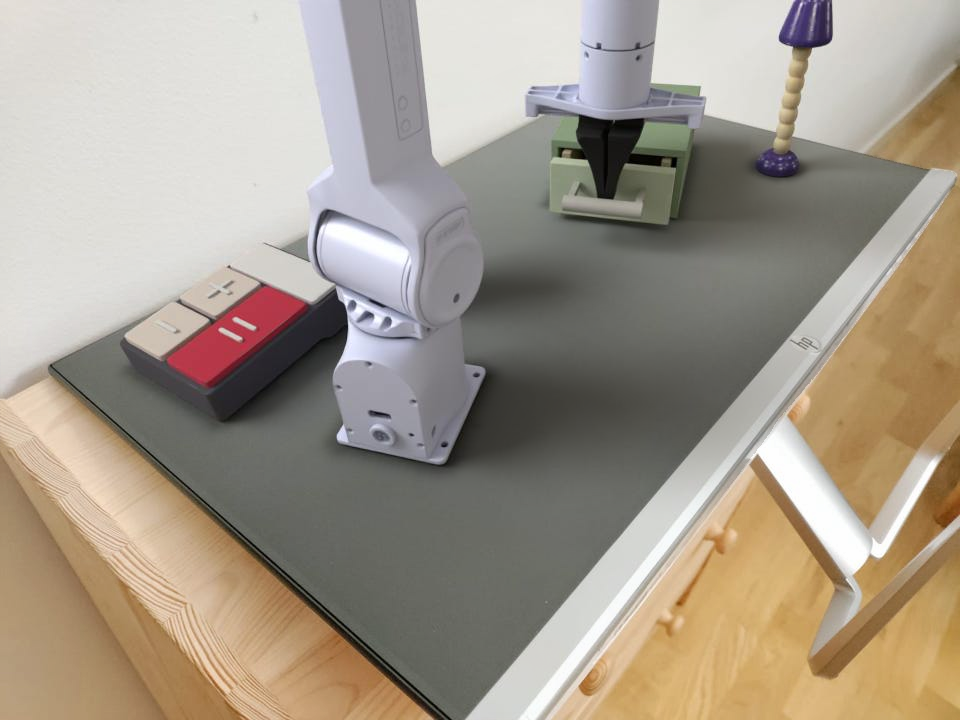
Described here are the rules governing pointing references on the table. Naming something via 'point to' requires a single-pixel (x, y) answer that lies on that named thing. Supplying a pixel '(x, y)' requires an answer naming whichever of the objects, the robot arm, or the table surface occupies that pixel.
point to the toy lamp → (796, 77)
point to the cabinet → (645, 141)
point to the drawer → (636, 196)
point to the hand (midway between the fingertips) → (606, 196)
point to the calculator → (236, 330)
